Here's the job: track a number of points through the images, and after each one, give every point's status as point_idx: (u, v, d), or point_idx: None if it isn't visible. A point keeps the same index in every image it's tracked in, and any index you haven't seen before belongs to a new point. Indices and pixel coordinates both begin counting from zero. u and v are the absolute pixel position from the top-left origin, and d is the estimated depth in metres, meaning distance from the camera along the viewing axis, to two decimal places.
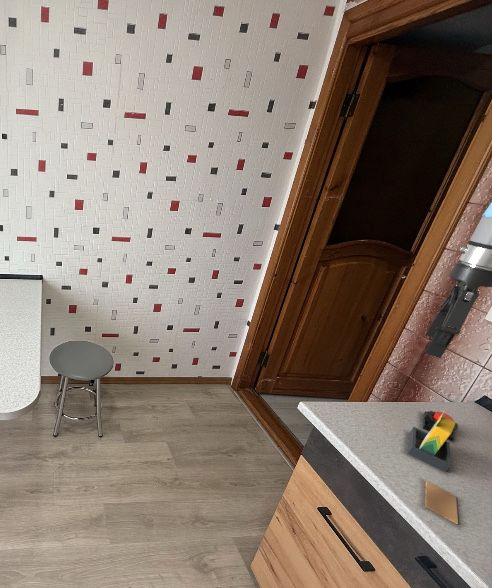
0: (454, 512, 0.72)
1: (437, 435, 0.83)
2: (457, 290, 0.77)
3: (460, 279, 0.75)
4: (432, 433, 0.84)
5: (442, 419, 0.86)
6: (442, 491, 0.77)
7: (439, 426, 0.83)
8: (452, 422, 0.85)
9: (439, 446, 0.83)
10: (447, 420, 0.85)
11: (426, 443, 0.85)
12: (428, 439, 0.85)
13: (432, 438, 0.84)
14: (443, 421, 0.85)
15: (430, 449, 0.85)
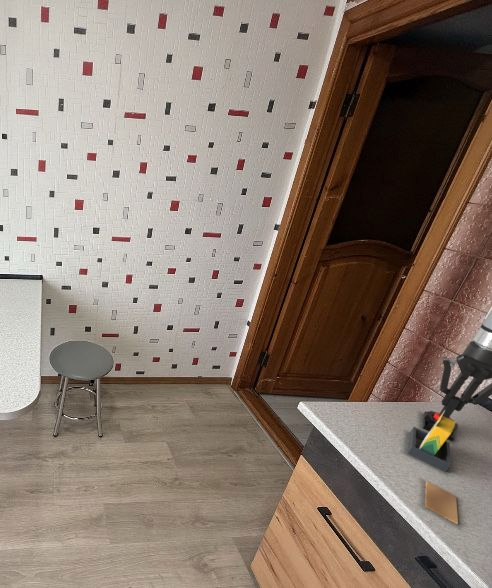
0: (454, 512, 0.72)
1: (437, 435, 0.83)
2: (488, 371, 0.86)
3: None
4: (432, 433, 0.84)
5: (442, 419, 0.86)
6: (442, 491, 0.77)
7: (439, 426, 0.83)
8: (452, 422, 0.85)
9: (439, 446, 0.83)
10: (447, 420, 0.85)
11: (426, 443, 0.85)
12: (428, 439, 0.85)
13: (432, 438, 0.84)
14: (443, 421, 0.85)
15: (430, 449, 0.85)
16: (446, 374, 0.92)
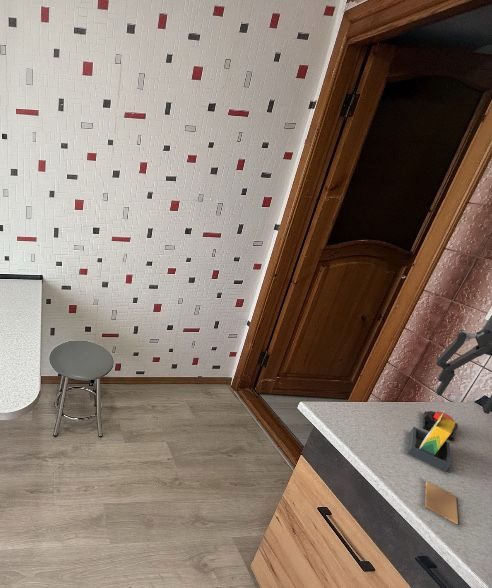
0: (454, 512, 0.72)
1: (437, 435, 0.83)
2: None
3: None
4: (432, 433, 0.84)
5: (442, 419, 0.86)
6: (442, 491, 0.77)
7: (439, 426, 0.83)
8: (452, 422, 0.85)
9: (439, 446, 0.83)
10: (447, 420, 0.85)
11: (426, 443, 0.85)
12: (428, 439, 0.85)
13: (432, 438, 0.84)
14: (443, 421, 0.85)
15: (430, 449, 0.85)
16: (454, 348, 0.79)
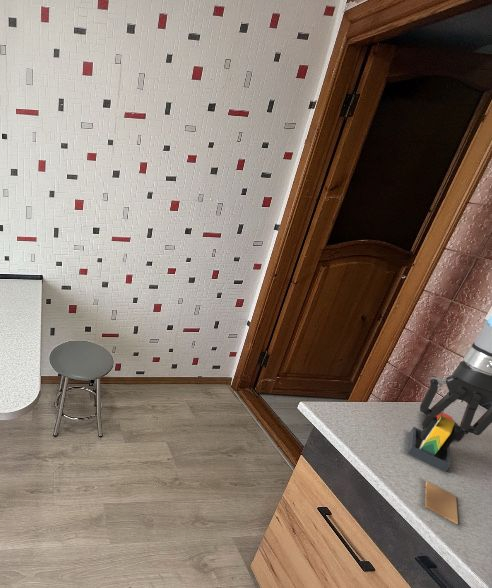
0: (454, 512, 0.72)
1: (437, 435, 0.83)
2: (481, 395, 0.78)
3: None
4: (432, 433, 0.84)
5: (441, 419, 0.86)
6: (442, 491, 0.77)
7: (439, 426, 0.83)
8: (451, 421, 0.85)
9: (439, 446, 0.83)
10: (446, 420, 0.85)
11: (426, 443, 0.85)
12: (428, 439, 0.85)
13: (432, 438, 0.84)
14: (442, 421, 0.85)
15: (430, 449, 0.85)
16: (431, 394, 0.84)
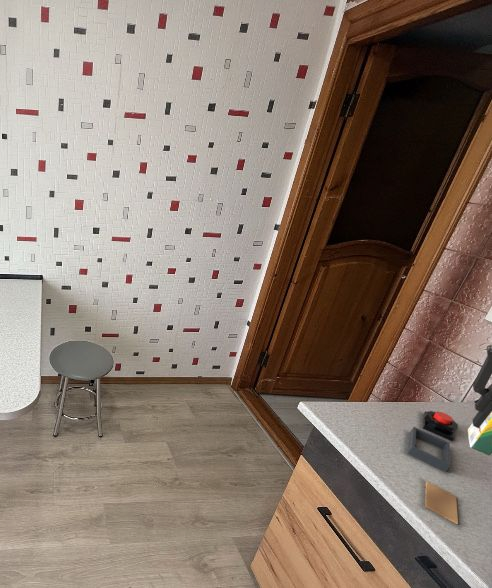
0: (454, 512, 0.72)
1: None
2: None
3: None
4: None
5: None
6: (442, 491, 0.77)
7: None
8: None
9: None
10: None
11: (484, 434, 0.66)
12: (487, 429, 0.66)
13: None
14: None
15: (489, 441, 0.66)
16: (488, 368, 0.65)
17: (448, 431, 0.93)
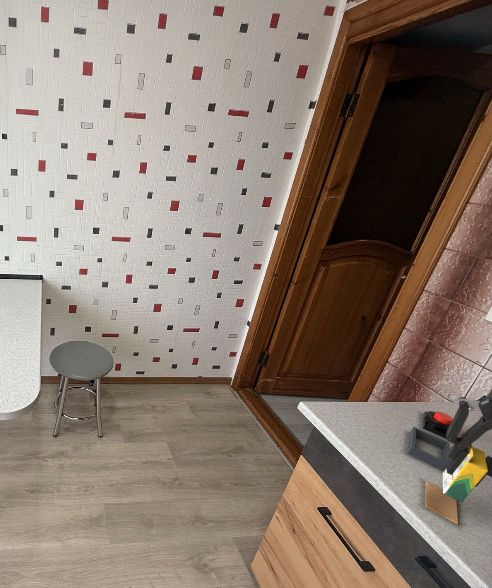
0: (454, 512, 0.72)
1: (470, 473, 0.67)
2: None
3: None
4: (464, 470, 0.68)
5: (469, 449, 0.70)
6: (442, 491, 0.77)
7: (471, 461, 0.67)
8: (481, 452, 0.70)
9: (473, 486, 0.67)
10: (475, 450, 0.70)
11: (456, 482, 0.69)
12: (458, 477, 0.69)
13: (464, 476, 0.68)
14: None
15: (461, 489, 0.69)
16: (460, 420, 0.68)
17: None
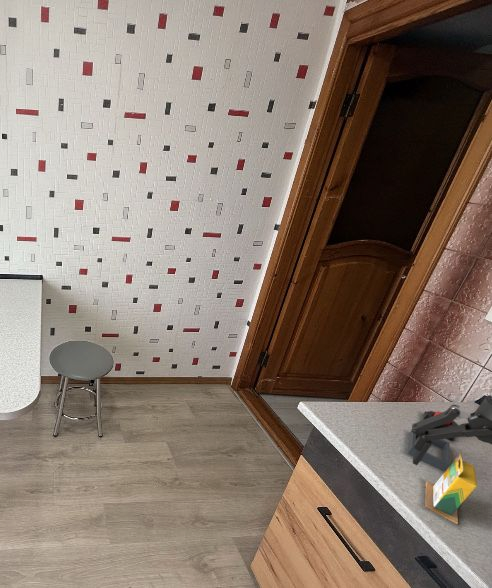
0: (454, 512, 0.72)
1: (460, 487, 0.69)
2: None
3: None
4: (453, 485, 0.70)
5: (459, 464, 0.72)
6: None
7: (461, 476, 0.69)
8: (471, 467, 0.72)
9: (462, 500, 0.69)
10: (465, 464, 0.72)
11: (446, 496, 0.71)
12: (448, 491, 0.70)
13: (453, 490, 0.70)
14: None
15: (451, 502, 0.71)
16: (439, 421, 0.71)
17: None
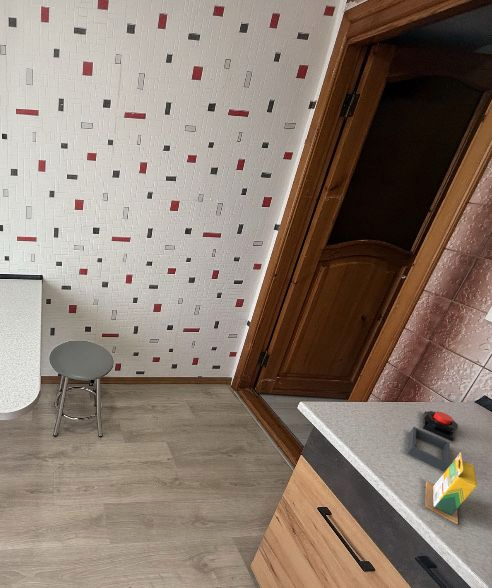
0: (454, 512, 0.72)
1: (460, 487, 0.69)
2: None
3: None
4: (453, 485, 0.70)
5: (459, 464, 0.72)
6: None
7: (461, 476, 0.69)
8: (471, 467, 0.72)
9: (462, 500, 0.69)
10: (465, 464, 0.72)
11: (446, 496, 0.71)
12: (448, 491, 0.70)
13: (453, 490, 0.70)
14: None
15: (451, 502, 0.71)
16: None
17: (448, 431, 0.93)
